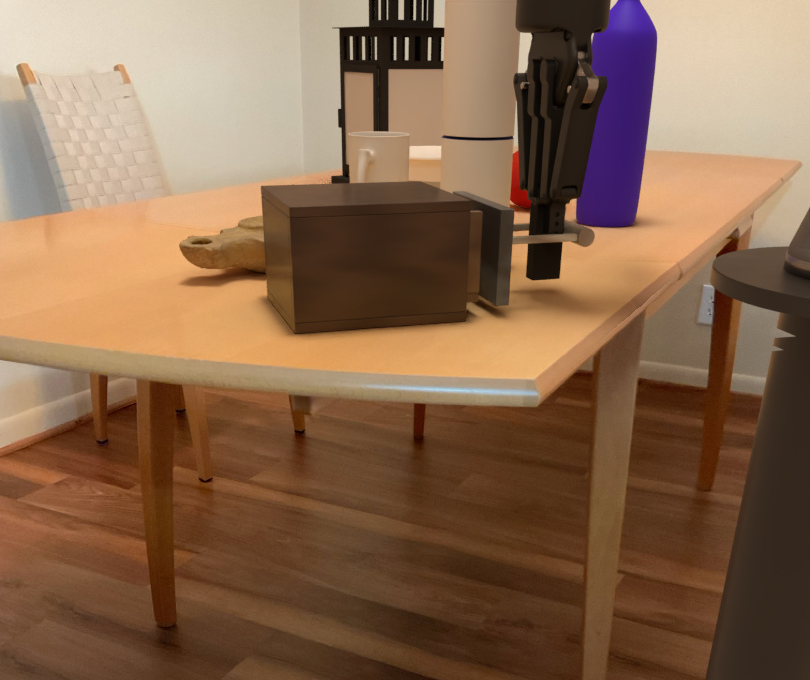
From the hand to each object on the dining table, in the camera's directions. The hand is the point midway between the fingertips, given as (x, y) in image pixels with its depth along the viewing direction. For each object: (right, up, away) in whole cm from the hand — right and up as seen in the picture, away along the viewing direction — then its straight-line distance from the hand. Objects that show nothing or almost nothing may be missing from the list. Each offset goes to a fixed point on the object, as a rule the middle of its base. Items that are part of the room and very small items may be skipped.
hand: (542, 277), depth 84 cm
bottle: (+14, +18, +39) cm, 45 cm away
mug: (-16, +9, +20) cm, 27 cm away
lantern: (-13, +35, +70) cm, 79 cm away
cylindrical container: (-6, +5, +13) cm, 14 cm away
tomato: (+6, +24, +49) cm, 55 cm away
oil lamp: (-28, +3, +9) cm, 29 cm away
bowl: (-8, +19, +39) cm, 44 cm away
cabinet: (-16, -4, -4) cm, 17 cm away
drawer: (-8, -2, -2) cm, 8 cm away
